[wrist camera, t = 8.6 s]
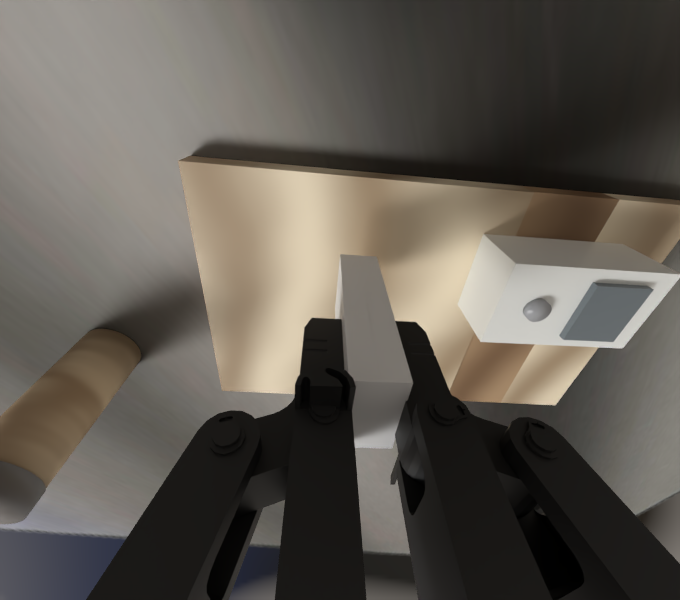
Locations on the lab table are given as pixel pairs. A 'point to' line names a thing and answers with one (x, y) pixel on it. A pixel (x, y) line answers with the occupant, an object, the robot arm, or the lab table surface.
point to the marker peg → (58, 416)
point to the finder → (561, 291)
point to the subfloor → (385, 263)
